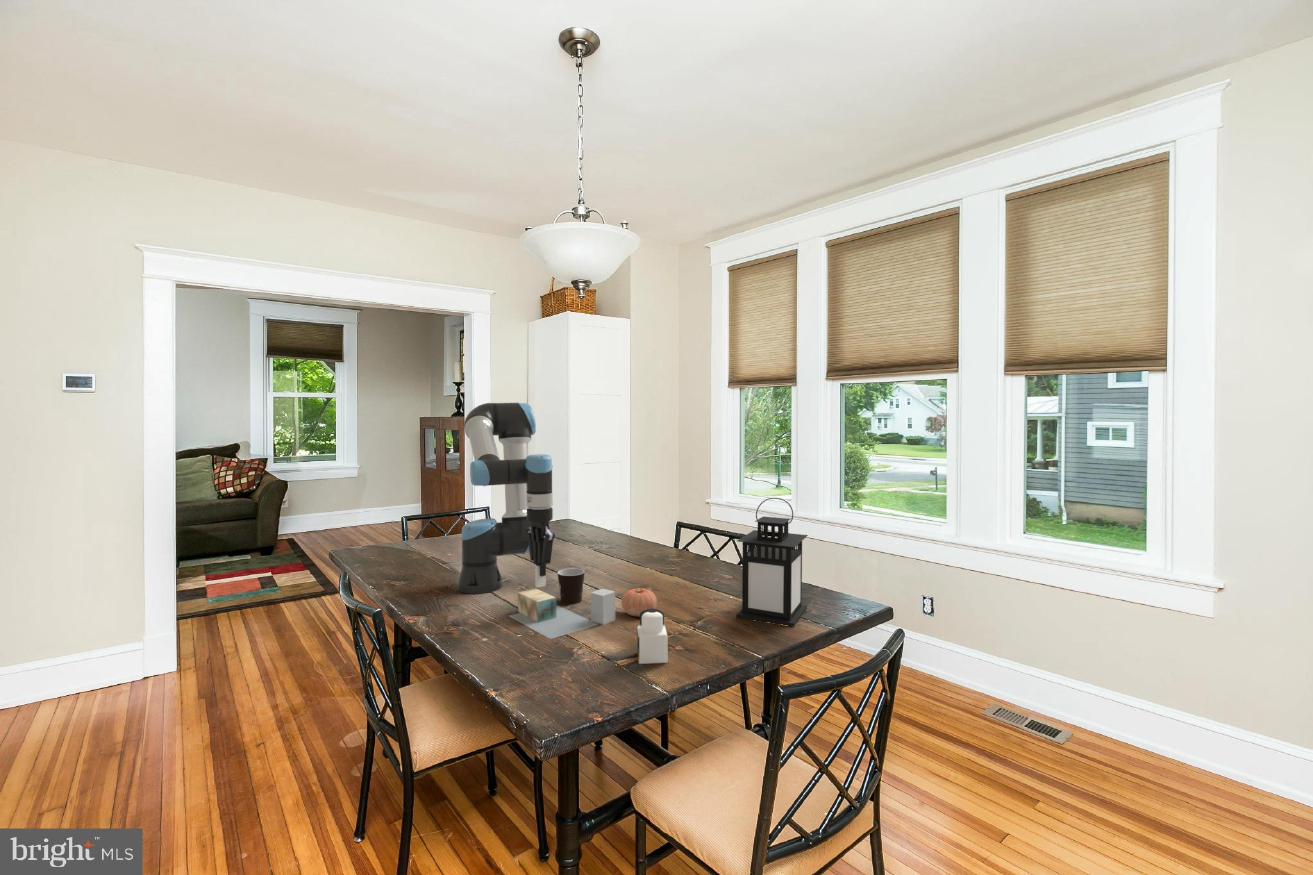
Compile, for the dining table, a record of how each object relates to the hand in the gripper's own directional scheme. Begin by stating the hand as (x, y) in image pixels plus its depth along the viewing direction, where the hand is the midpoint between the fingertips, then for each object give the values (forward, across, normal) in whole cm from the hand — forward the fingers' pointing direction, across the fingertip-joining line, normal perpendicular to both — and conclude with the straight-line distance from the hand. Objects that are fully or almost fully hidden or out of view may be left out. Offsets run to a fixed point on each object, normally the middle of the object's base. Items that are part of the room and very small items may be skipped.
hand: (540, 585), depth 181 cm
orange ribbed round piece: (+10, +17, +24) cm, 31 cm away
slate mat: (+10, +5, +1) cm, 11 cm away
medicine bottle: (+10, +43, +6) cm, 45 cm away
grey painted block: (+10, +15, +12) cm, 21 cm away
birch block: (+6, +4, 0) cm, 7 cm away
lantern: (+10, +43, +55) cm, 70 cm away
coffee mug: (+10, -7, +16) cm, 20 cm away
